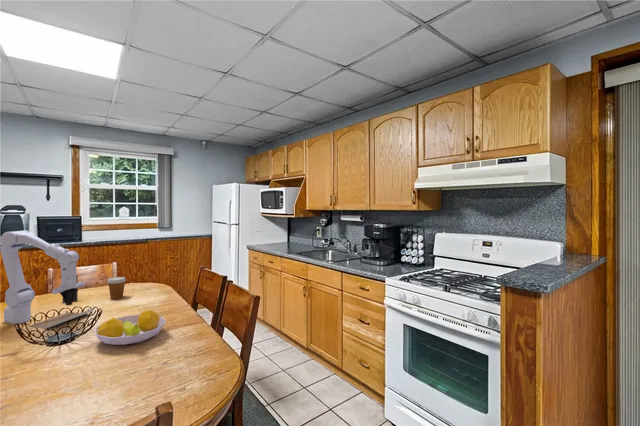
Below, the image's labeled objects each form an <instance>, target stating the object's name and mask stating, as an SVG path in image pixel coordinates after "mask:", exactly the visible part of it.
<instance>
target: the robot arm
mask: <svg viewBox="0 0 640 426" xmlns="http://www.w3.org/2000/svg"><path fill="white" fill-rule="evenodd" d="M27 244H29V245H31V246H34V247H35V248H38V249H40V250H43V251H44V254H45V255H47V256H49V257H51V258H53V259H54V260H57V263H58V264H59V266H60V286H59V287H56V288H54V289H52V290H51V294H52V295H58V294H60V295H61V296H62V299H63V298H64V301H65V303H64V304H65V306H72V305H73V300H74V297H75V295H76V293H77V292H78V291H79V289H76V288H81V287H82V288H83V287H85V282H82V281H80V282H78V283H76V275H77V262H79V260H80V254H79V253H78V252H77V251H76V250H69V249H68V248H64V247H63V246H61V245H60V244H59V243H51V244H50V243H49V242H47V241H45V240H44V239H42V238H40V237H38V236H36V235H35V234H34V232H30V231H29V230H27V229H25V230H16V231H15V230H13V231H6V232H4V233H3V234H2V235H1V236H0V254H1V258H2V263H3V266H4V270H5V274H6V277H7V281H8V285H9V287H8V288H7V289H6V291H5V292H4V293H5V297H4V302H5V304H6V305H7V306H6V307H5V309H4V310H3V322H4V323H8V324H12V325H13V324H14V325H16V324H23V323H27V322H30V321H31V318H32V316H31V315H32V311H31V310H32V306H31V305H32V302H33V300H34V299H35V298H36V297H35V296H36V293H35V291H34V290H33V287H32V285H30V283H27V282H26V280H25V276H24V272H23V269H22V264H21V260H20V255H19V253H18V251H20V249H21V248H22V247H23V246H25V245H27Z"/></svg>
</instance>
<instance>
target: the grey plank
mask: <svg viewBox="0 0 640 426" xmlns="http://www.w3.org/2000/svg"><path fill="white" fill-rule="evenodd" d="M94 311H95V310H94V308H90V309H89V310H86V311H85V310H84V311H83V312H78V313H79V314H76V315H74V316H71V317H68V318H65V319H63V320H60V321H57V322H54V323H52V324H49V325H46V326H43V327H41V328H40V329H45V330H46V329H48V328H51V327H54V326H57V325H59V324H61V323H64V322H67V321H70V320H73V319H75V318H76V319H77V318H78V317H81V316H83V315H86V314H89V313H91V312H94Z"/></svg>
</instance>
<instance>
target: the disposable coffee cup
mask: <svg viewBox="0 0 640 426" xmlns="http://www.w3.org/2000/svg"><path fill="white" fill-rule="evenodd" d="M126 281H127V278H126V277H125V276H114V277H109V278H108V279H107V284H108V289H109V296H110V297H109V298H110V300H119V299H122V298H123V297H124V292H125V285H126Z"/></svg>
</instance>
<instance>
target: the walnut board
mask: <svg viewBox="0 0 640 426" xmlns="http://www.w3.org/2000/svg"><path fill="white" fill-rule="evenodd" d="M79 313H80V312H72V313H71V311H68V312H65V313H62V314H59V315H56V316H53V317H49V318H48V319H44V320H41V321H38V322H35V323H33V324H30V325H27V326H26V327H27V328H37V329H42V328H41V327H44V326H46V325H49V324H52V323H54V322H57V321H60V320H63V319H65V318H68V317H71V316H74V315H76V314H79ZM46 320H47V324H46Z"/></svg>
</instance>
